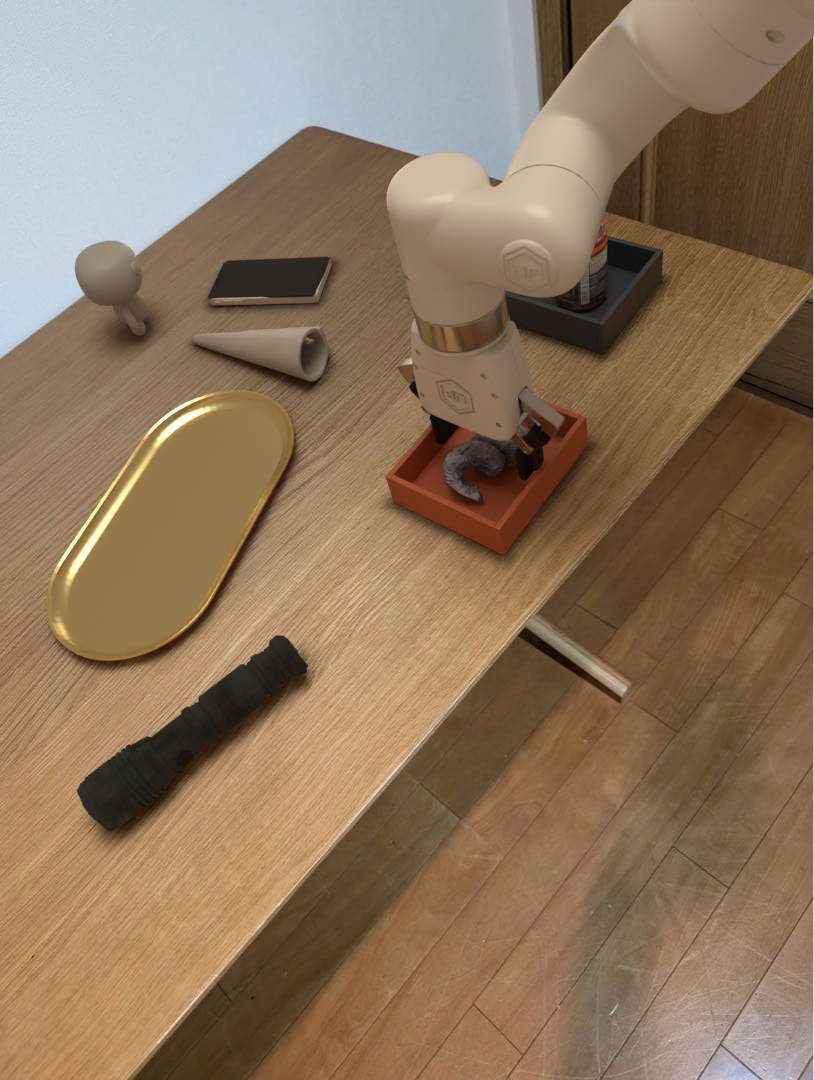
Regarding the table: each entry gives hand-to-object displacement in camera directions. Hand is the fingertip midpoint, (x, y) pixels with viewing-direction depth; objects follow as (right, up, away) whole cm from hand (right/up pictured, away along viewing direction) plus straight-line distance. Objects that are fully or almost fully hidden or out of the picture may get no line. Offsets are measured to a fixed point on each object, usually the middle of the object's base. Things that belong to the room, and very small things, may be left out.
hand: (488, 451), depth 82 cm
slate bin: (+12, +19, +15) cm, 27 cm away
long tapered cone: (-26, +13, +20) cm, 35 cm away
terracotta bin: (0, -2, +3) cm, 3 cm away
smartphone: (-25, +24, +28) cm, 45 cm away
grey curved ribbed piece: (0, -2, +2) cm, 3 cm away
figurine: (-42, +19, +28) cm, 54 cm away
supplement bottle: (+12, +19, +14) cm, 26 cm away
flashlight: (-25, -26, -8) cm, 37 cm away
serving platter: (-32, -7, +8) cm, 33 cm away
